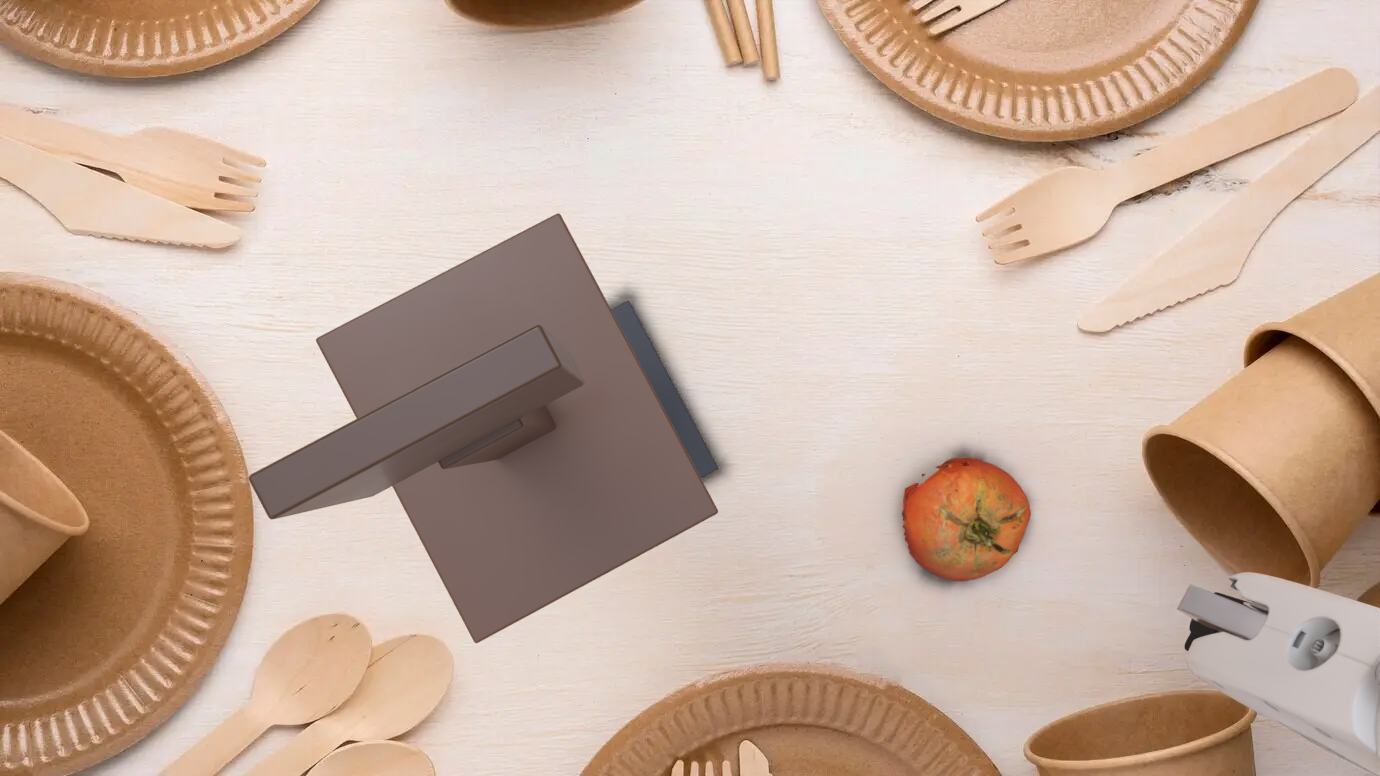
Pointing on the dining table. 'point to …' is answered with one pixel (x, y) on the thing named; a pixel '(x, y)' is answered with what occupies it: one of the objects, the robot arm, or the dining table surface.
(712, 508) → the stand
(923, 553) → the tomato
